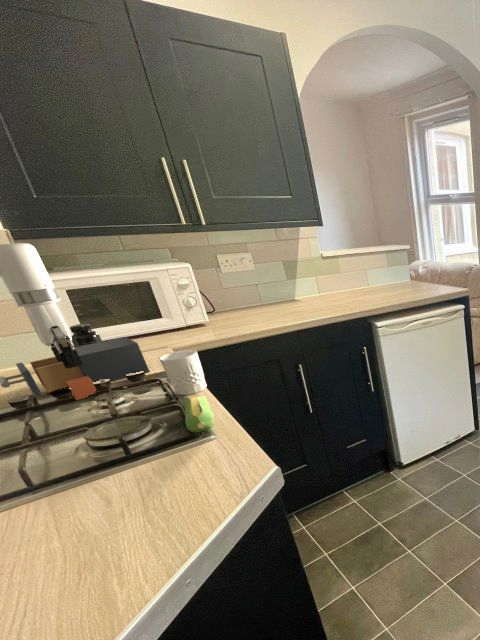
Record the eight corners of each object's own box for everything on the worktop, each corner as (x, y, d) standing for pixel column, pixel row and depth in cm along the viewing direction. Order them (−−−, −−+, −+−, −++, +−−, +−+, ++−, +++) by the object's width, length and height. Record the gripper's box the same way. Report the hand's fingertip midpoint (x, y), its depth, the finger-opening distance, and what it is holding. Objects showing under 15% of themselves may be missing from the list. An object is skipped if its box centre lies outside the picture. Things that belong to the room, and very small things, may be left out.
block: (76, 400, 109) (68, 385, 107) (72, 396, 111) (64, 381, 109) (98, 394, 112) (91, 379, 110) (94, 390, 114) (87, 375, 113)
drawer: (12, 404, 106) (-4, 377, 103) (6, 394, 112) (-9, 368, 109) (99, 381, 118) (87, 357, 115) (89, 373, 125) (78, 350, 122)
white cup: (188, 384, 116) (175, 350, 111) (216, 383, 115) (203, 349, 111) (166, 396, 108) (151, 360, 104) (195, 396, 108) (181, 359, 104)
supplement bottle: (114, 355, 143) (98, 321, 138) (103, 361, 137) (86, 326, 132) (89, 358, 141) (72, 323, 136) (77, 365, 135) (59, 329, 130)
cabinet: (90, 387, 117) (75, 356, 113) (79, 378, 124) (65, 349, 120) (149, 371, 127) (137, 342, 123) (137, 363, 134) (125, 336, 130)
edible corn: (190, 440, 87) (182, 421, 85) (185, 408, 101) (178, 391, 100) (219, 431, 90) (212, 413, 88) (210, 401, 104) (204, 385, 102)
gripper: (9, 297, 103) (44, 362, 110) (19, 304, 93) (57, 374, 100) (51, 291, 108) (82, 353, 115) (65, 297, 99) (97, 364, 106)
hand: (70, 363), depth 108 cm, fingers open, 9 cm apart
